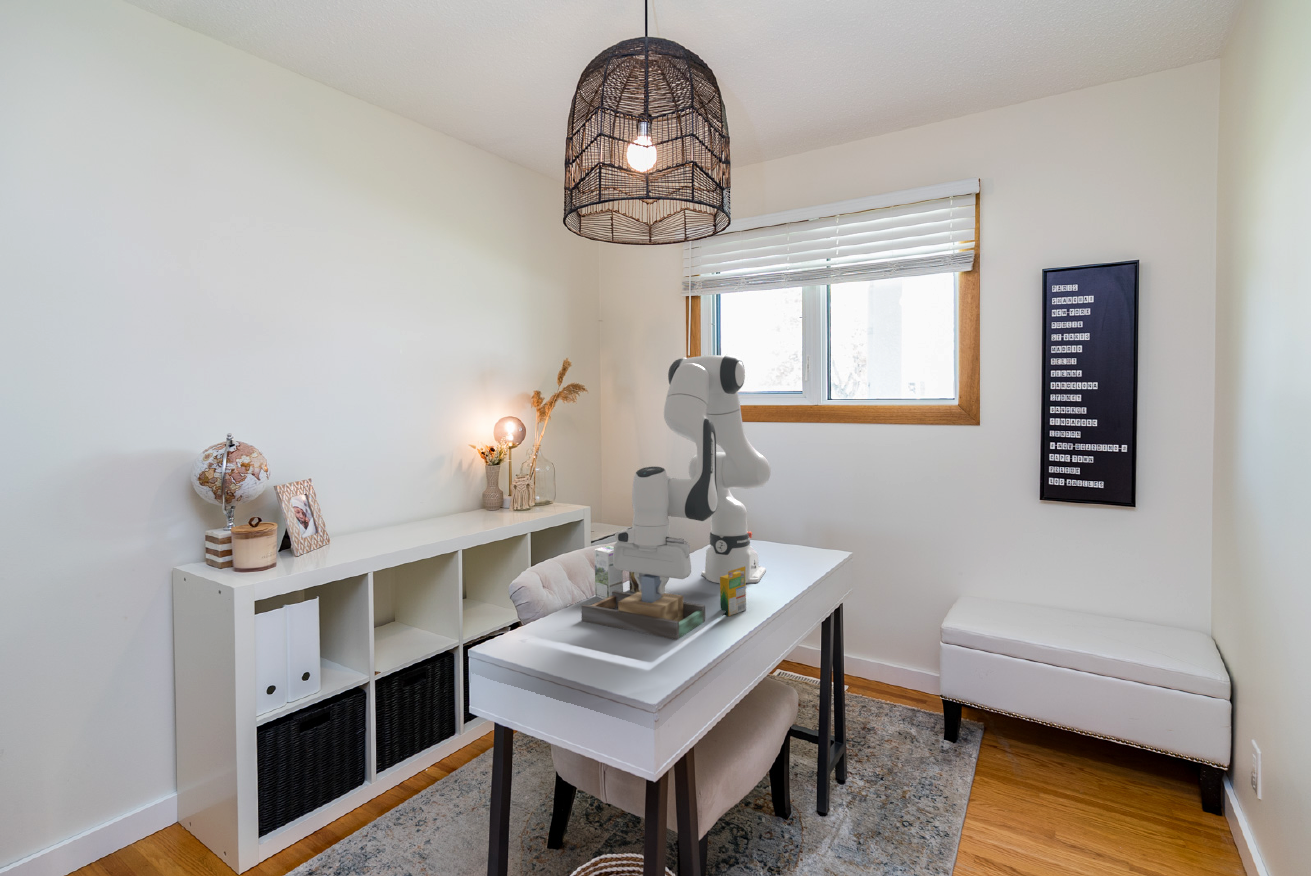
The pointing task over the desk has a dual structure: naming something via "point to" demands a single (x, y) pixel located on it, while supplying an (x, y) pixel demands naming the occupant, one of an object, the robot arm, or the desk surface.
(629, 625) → the bay
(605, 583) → the syrup box
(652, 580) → the handle peg
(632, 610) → the slotted wooden block
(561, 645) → the desk surface
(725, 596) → the crayon box
